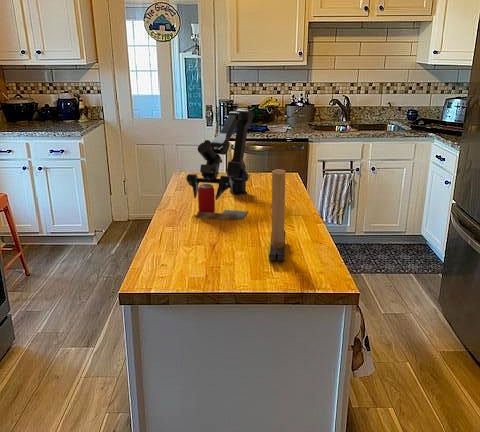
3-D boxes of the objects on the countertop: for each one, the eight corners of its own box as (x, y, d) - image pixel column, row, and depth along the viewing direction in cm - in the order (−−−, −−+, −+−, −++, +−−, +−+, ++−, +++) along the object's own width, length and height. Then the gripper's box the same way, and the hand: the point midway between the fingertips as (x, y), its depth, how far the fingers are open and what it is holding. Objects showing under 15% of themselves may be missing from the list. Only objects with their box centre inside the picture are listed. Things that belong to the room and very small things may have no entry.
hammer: (284, 270, 152) (286, 186, 138) (268, 270, 153) (268, 186, 138) (285, 237, 170) (287, 159, 155) (271, 236, 170) (272, 158, 155)
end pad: (219, 217, 195) (219, 216, 195) (224, 210, 203) (224, 209, 203) (243, 219, 192) (243, 218, 192) (247, 212, 201) (247, 211, 201)
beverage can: (216, 210, 203) (215, 183, 199) (213, 216, 196) (212, 188, 192) (200, 210, 203) (199, 183, 199) (197, 215, 197) (196, 187, 193)
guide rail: (197, 217, 195) (197, 212, 194) (198, 216, 196) (198, 211, 195) (235, 220, 191) (235, 215, 191) (236, 219, 193) (236, 214, 192)
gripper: (186, 155, 198) (178, 187, 191) (230, 157, 194) (223, 190, 187) (193, 169, 208) (186, 200, 201) (235, 171, 204) (228, 203, 197)
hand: (205, 198), depth 196 cm, fingers open, 9 cm apart
